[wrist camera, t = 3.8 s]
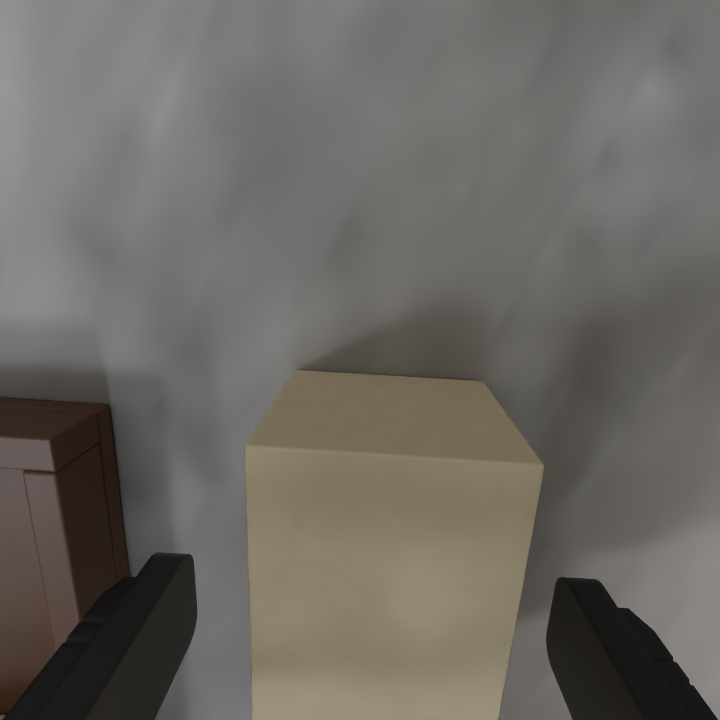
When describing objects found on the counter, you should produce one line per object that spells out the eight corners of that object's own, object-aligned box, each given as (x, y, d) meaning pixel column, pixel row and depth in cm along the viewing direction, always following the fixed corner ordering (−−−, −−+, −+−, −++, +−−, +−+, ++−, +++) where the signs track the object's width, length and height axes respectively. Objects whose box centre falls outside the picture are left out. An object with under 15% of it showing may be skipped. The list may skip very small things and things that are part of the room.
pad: (295, 369, 10) (242, 445, 6) (484, 380, 10) (547, 465, 6) (293, 632, 12) (254, 807, 9) (449, 645, 12) (479, 829, 8)
